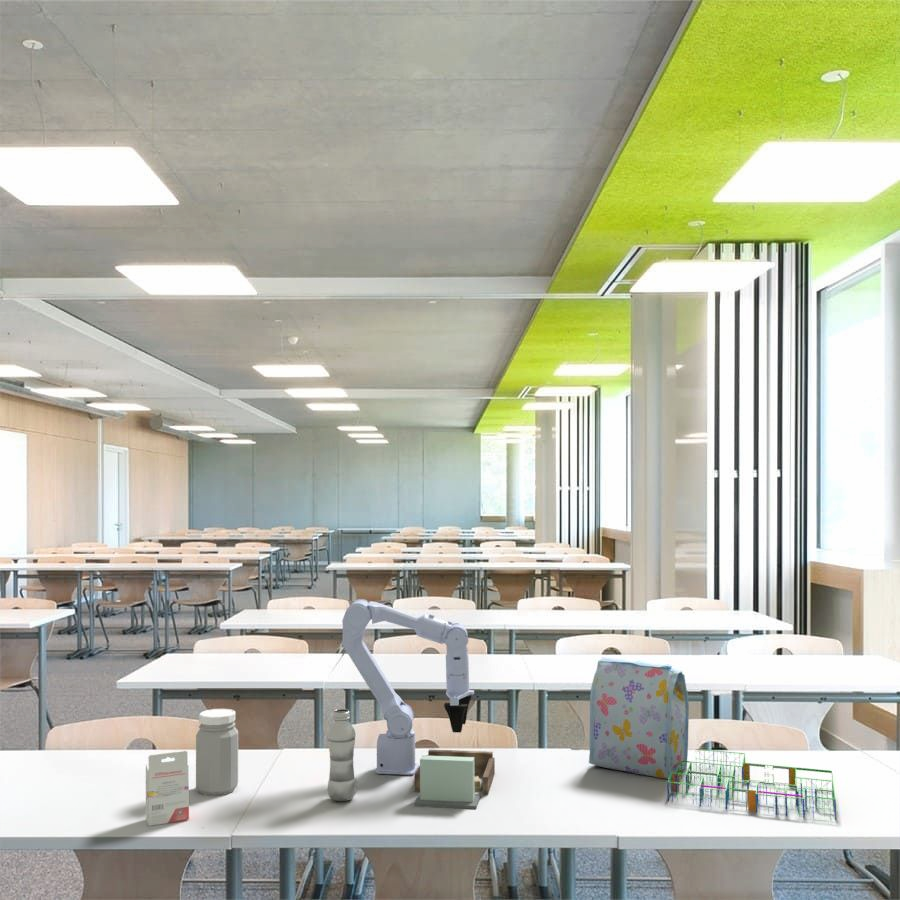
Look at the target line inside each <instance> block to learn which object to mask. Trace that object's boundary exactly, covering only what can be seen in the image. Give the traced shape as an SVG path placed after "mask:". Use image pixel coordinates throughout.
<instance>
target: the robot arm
mask: <svg viewBox="0 0 900 900" xmlns="http://www.w3.org/2000/svg"><path fill="white" fill-rule="evenodd" d="M369 622H371V624H372V625H373V624H379V623H381V622H387V623H391V624H393V625H397V626H401V627H403V628H407V629H411V630H414V632H415V634H416V635H417V637H418V638H419V637H420V638H422V639H425V640H428V641H431V642H434V643H437V644H440V645H443V644H445V646H446V654H445V673H446V674H445V677H446V679H445V681H446V683H445V685H446V690H445V695H446V696H447V697H448V698H449V702H445V703H444V704H443V705H444V706H443V707H444V710H445V712H446V713H447V715H448V718H449V723H450V728H451V732H452V733H460V734H461V733H462V732H463V731H462V730H463V725H466V722H467V715H468V710H469V706H470V702H471V700H472V697H473V695H474V694H475V689H470V671H469V669H470V668H469V666H470V665H469V654H468V652H469V648H468V644H469V637H468V635H469V633H468V631H467V629H466V627H465V626H463V625H462V624H460V623H458V622H454V623H453V621H452V620H448V621H446V620H442V619H440V618H437V617H435V614H434V613H429V615H428V614H422V615H420V616H415V615H414V614H413V615H412V614H410V613H408V612H405V611H402V610H400V609H398V608H397V609H396V608H394V607H391V606H388V605H386V604H384V603H380V602H376V601H372V600H370V601H368V600H366V599H364V598H359V599H355V600H353V602H352V603H351V604H350V605H349V606H348V607H347V608H346V610H345V612H344V615H343V618H342V644H341V645H342V646H343V649H345V651H346V653H347V655H348V656H349V658H350V659H351V661H352V663H353V665H354V666H355V668H356V669H357V670H358V672H359V674H360V676H361V677H362V679H363V680H364V682H365V683H366V685H367V687H368V689H369V690H370V691H371V693H372V695H373V697H374V698H375V700H376V701H377V703H378V705H379V706H380V710H381V713H382V716H384V719H385V721H386V728H387V730H386V733H380V734H378V736H377V741H376V771H375V773H376V774H378V775H380V774H381V775H405V776H410V775H411V776H414V774H415V773H416V771H417V769H418V768H419V766H420V763H416V731H415V730H414V729H413V721H414V719H415V712H414V710H413V709H412V707H411V706H410V705H409V704H407V703H405V702H404V701H403V699H402V698H401V697H400V695H398V694H397V692H395V689H394V688H393V686H392V685H391V683H390V681H389V680H388V679H387V677H386V675H385V673H384V672H383V669H381V667H380V666H379V664H378V662H377V661H376V659H375V658H374V656H373V655H372V652H370V650H369V648H368V646H367V644H366V643H365V641H364V636H365V633H366V628H367V626H368V624H369Z"/></svg>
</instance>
